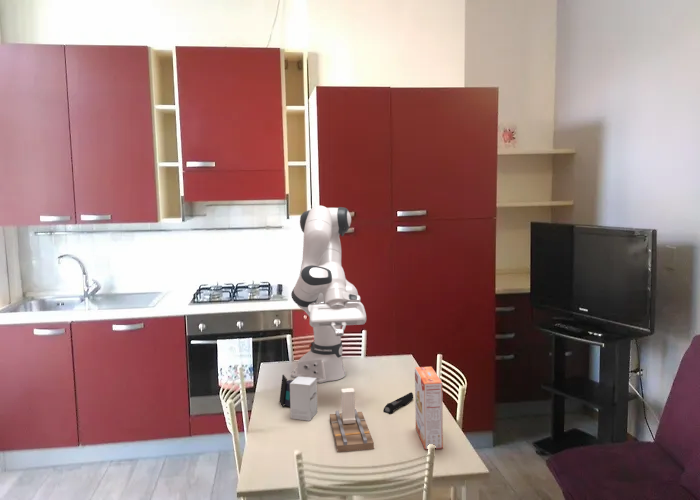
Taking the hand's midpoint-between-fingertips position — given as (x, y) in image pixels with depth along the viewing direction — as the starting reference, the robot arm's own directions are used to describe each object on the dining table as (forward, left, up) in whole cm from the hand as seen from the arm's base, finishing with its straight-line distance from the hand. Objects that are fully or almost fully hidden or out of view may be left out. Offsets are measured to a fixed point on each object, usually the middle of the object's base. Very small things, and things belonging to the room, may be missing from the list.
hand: (339, 335), depth 184 cm
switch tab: (+8, -12, -24) cm, 28 cm away
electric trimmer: (+18, +9, -27) cm, 34 cm away
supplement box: (-10, -9, -27) cm, 30 cm away
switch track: (+10, -16, -27) cm, 33 cm away
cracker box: (+34, -11, -27) cm, 45 cm away
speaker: (-19, -2, -27) cm, 33 cm away
